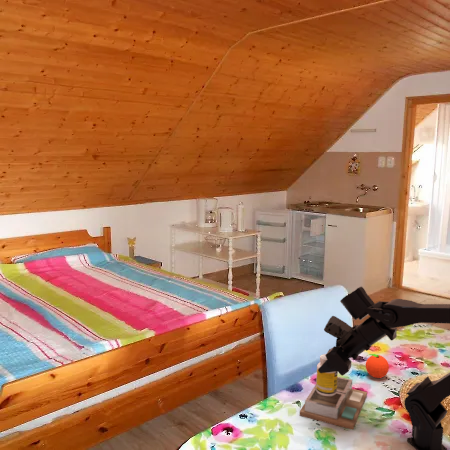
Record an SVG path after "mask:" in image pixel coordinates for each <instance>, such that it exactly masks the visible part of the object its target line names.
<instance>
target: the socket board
mask: <svg viewBox="0 0 450 450" xmlns="http://www.w3.org/2000/svg"><path fill="white" fill-rule="evenodd" d="M337 390H340V391H344V389H341V388H337ZM367 397H368V392H367V391H363V390H358V389H355V388H352V390H351V392H350V395H349V397H348V399H347V401H346V403H345V405H344V407H343V409H342V411H341V413H340V415H339V417H338V419H337V420H336V419H332V418H328V417H324V416H320V415H316V414H312V413H308V412H305V403H304V404H303V406H302V407H301V408H300V409H299V416H300V417H305V418H307V419H311V420H315V421H319V422H323V423H327V424H331V425H335V426H338V427H342V428H346V429H350V430H354V428H355V427H356V425H357V421H358V419H359V417H360V414H361V412H362V409H363V407H364V404H365V402H366V399H367ZM314 402H318V403H322V404H326V405H330V406H334V407H336V405H337V404H336V403H331V402H327V401H323V400H319V399H315V401H314Z"/></svg>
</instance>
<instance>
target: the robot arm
mask: <svg viewBox="0 0 450 450" xmlns="http://www.w3.org/2000/svg"><path fill="white" fill-rule="evenodd" d="M339 302H340V303H341V305H342V306H343V307H344V308H345V310H347V312H348V313H349V315H350V316H351V317H352V318H353V320H355V321H356V320H359V321H362V320H363V319H365V318H366V317H367V316H368V317H367V318H366V319H365V320H364V321H363V322H360V323H359V324H354V325H353V326H351V325H349V323H347V322H346V321H344V320H342V319H340V318H338V317H337V316H336V315H335V316H334V315H332V316H330V318H329V319H328V321H327V323H326V325H325V327H324V329H323V330H324V332H325V333H327V334H329V335H330V336H332V337H334V338H336V339H335V346H333V347H331V348H329V349H328V351H327V352H326V353H325V354H326V358H327V360H326V361H325V362H324V363H323V364H322V366H321V367H320V368H319V369H318V371H319V372H320V373H327V372H337V371H338V374H339V375H340V376H345V375H346V374H347V373H349V372H350V369H352V368H351V367H352V360H351V358H352V359H353V360H356V359H358V357H359V355H361V354H362V353H363V352H364V351H366V352H367V351H369V350H370V349H371V347H372V346H373V345H375V344H376V343H377V342H378V341H380V340H381V339H382V338H384V337H388V339H389V340H390V341H393V340H395V339H397V337H398V336H397V330H398V328H402V327H407V326H410V325H416V324H449V325H450V303H444V304H443V303H440V304H439V303H434V304H433V303H431V304H430V303H418V302H416V301H414V300H409V299H402V298H394V299H392V300H390V301H383V300H382V301H381V300H378V301H377V302H375V301H373V299H372V298H371V297H370V296H369V294H368V293H367V291H366V290H365V288H364V287H363V286H359V287H357V288H356V289H355V290H353V291H352V292H350V293H349V294H346V295H345V296H343V297H342V298H341V299H340V301H339ZM406 395H407V396H406V397H405V398H404V408H405V410H406V412H407V413H408V415H409V418H410V421H411V425H412V429H411V436H410V437H407V438H406V441H407V442H408V443H409V444H410V445H411V446H412V447H414V448H415V449H416V450H448V448H447V447H446V446H444V445H443V438H444V426H443V425H442V421H443V419H445V417H446V415H447V413H448V410H447V408H445V406H444V405H443V403H442V402H443V401H444V400H445V399H446V398H448V397H450V372H448V373H447V374H445V375H443V376H442V377H441V378H439V379H436V380H431V378H430V377H429V376H426V377H425V378H424V379H423V380H422V381H420V382H416V383H415V384H414V385H413V386H411V388H410V389H409V390H408V391H407V392H406Z"/></svg>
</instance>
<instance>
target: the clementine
mask: <svg viewBox="0 0 450 450" xmlns="http://www.w3.org/2000/svg"><path fill="white" fill-rule="evenodd" d="M368 356H369V357H368V358H367V356H365V357H364V358H367V359H366V362H365V370H366V372H367V373H368V375H369V376H371V377H372V378H375V379H382V378H385V376H387V375H388V373H389V369H390V364H389V361H388V360H387V358H386V357H384V356H382V355H380V354H376V353H369V354H368Z"/></svg>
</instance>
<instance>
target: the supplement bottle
mask: <svg viewBox="0 0 450 450" xmlns="http://www.w3.org/2000/svg"><path fill="white" fill-rule="evenodd" d="M326 354H327V353H324V354H321V355H320V356H319V362H318V363H317V365H316V381H315V382H316V383H315V385H316V391H317V392H318V393H319V394H320V395H323V396H333V395H335V394H336V392H337V377H338V374H339V372H338V371H337V372H327V373H320V372H319V371H318V369H319V368H320V367H321V366H322V364H323V363H324V362H325V361H326V360H327V358H326Z"/></svg>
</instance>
